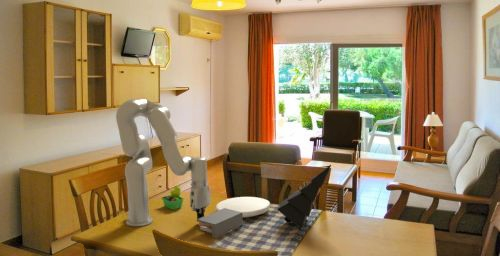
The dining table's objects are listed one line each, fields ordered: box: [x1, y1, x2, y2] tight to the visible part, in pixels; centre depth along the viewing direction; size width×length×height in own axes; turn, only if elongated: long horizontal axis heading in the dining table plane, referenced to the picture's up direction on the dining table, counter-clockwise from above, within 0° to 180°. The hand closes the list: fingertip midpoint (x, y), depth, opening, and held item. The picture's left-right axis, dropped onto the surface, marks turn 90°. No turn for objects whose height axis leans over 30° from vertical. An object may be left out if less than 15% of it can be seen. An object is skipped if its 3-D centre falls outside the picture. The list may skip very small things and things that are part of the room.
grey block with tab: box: [196, 208, 243, 240], centre depth 197 cm, size 13×19×6 cm
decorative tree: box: [276, 164, 332, 229], centre depth 199 cm, size 15×15×35 cm
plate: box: [215, 196, 271, 218], centre depth 220 cm, size 28×6×27 cm
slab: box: [198, 222, 212, 228], centre depth 200 cm, size 12×6×4 cm, turn 53°
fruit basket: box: [161, 185, 184, 211], centre depth 230 cm, size 11×9×11 cm
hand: (200, 220), depth 204 cm, fingers closed
